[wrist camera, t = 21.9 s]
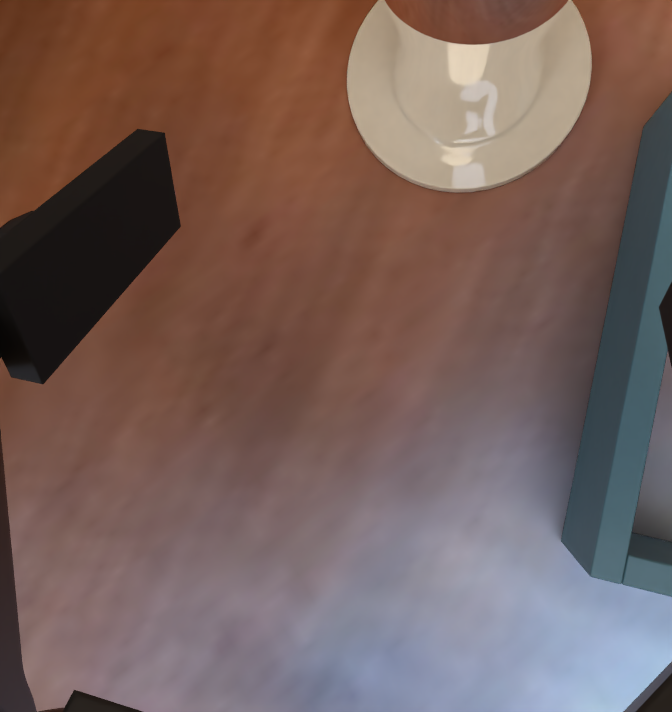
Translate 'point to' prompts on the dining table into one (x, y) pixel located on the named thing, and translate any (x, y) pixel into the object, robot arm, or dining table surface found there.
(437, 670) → the dining table surface
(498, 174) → the plate
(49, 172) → the dining table surface
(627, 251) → the box
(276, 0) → the dining table surface
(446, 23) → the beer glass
